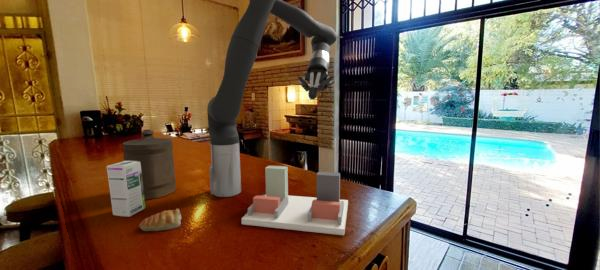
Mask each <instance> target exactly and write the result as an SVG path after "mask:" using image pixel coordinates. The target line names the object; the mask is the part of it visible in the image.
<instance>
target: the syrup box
mask: <svg viewBox="0 0 600 270" xmlns="http://www.w3.org/2000/svg"><path fill="white" fill-rule="evenodd" d="M106 172H107V173H106V174H107V179H108V186H109V195H110V201H111V209H112V210H111V211H112V215H113V216H117V217H118V216H119V217H127V218H128V217H129V218H130V217H132V216H133V215H136V214H137V213H139V212H141V211H143V210H145V209H146V207H147V206H146V201H145V198H144V189H143V181H142V172H141V163H140V161H124V160H123V161H120V162H116V163H113V164H109V165H107V166H106Z"/></svg>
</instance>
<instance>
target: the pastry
mask: <svg viewBox="0 0 600 270" xmlns="http://www.w3.org/2000/svg"><path fill="white" fill-rule="evenodd" d="M181 220H182V214H181V211H180V208H175V209H172V210H171V209H168V210H162V211H161V212H158V213H155V214H151V215H150V216H148V217H145V218H144V219H142V221H141V222H140V223H139V224H138V226H139V229H141V230H142V231H144V232H160V231H165V230H173V229H177V228H179V227H180V226H181V224H182V223H181Z"/></svg>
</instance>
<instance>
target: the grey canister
mask: <svg viewBox="0 0 600 270" xmlns="http://www.w3.org/2000/svg"><path fill="white" fill-rule="evenodd" d="M154 133H155V132H154V131H153V130H151V129H144V130H142V132H141V135H142V137H141V138H140V139H133V140H132V139H131V140H127V141H124V142H122V151H123V161H140V163H141V172H142V181H143V189H144V198H145V200H147V201H148V200H153V199H159V198H162V197H165V196H168V195H171V194H172V193H174V192H175V191H176V190H177V185H176V171H175V163H174V151H173V139H172V138H167V137H166V138H165V137H155V136H154Z"/></svg>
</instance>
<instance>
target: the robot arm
mask: <svg viewBox="0 0 600 270" xmlns="http://www.w3.org/2000/svg"><path fill="white" fill-rule="evenodd" d="M248 1H249V3H248V5H247V8H246V10H245V12H244V14H243V15H242V17H241V18H240V20H239V21H238V23H237V24H236V27H235V28H234V30H233V33H232V35H231V37H230V40H229V43H228V47H227V50H226V55H225V61H224V62H225V63H224V71H223V76H222V80H221V83H220V85H219V88H218V90H217V92H216V94H215V96H213V97H211V99H210V100H209V101H208V104H207V109H206V110H207V125H208V127H207V128H208V135H209V139H210V140H209V141H210V153H211V154H210V158H211V165H210V166H209V185H210V186H209V187H210V195H214V196H215V197H218V198H228V197H234V196H237V195H239V194H240V193H241V192H242V181H241V180H242V179H241V160H240V159H241V157H240V156H241V154H240V152H241V151H240V137H239V136H240V135H239V132H238V130H237V118H238V116H239V114H240V112H241V107H242V104H243V103H242V102H243V98H244V97H243V96H244V93H245V89H246V85H247V82H248V80H249V77H250V75H251V72H252V69H253V66H254V64H255V61H256V58H257V54H258V52H259V50H260V45H261V42H262V39H263V35H264V31H265V28H266V25H267V23H268V20H269V16H270V14H272V15H273V16H275V17H277V18H279V19H280V20H282V21H283V22H285V23H286V24H288V25H289V26H290V27H292V28H293V29H294V30H296V31H297V32H298V33H300V34H301V35H302V36H304V37H305V38H307V39H310V38H311V40H310V44H311V48H312V49H311V50H312V52H311V55H310V57H309V62H308V66H307V69H306V73H305V74H304V76H303V77H302V76H297V77H298V78H297V79H298V84H299V85H300V86H301V88H303V89H304V90H305V91H306V92H308V93H307V95H308V98H309V100H311V101H312V100H313V101H314V100H316V99H317V98H318V95H319V92H324V91H325V90H327V89H328V88H329V87H330V86H331V85H333V84H334V76H332V75H329V74H328V73H329V68H330V56H331V46H332V45H334V44H335V43H336V41H337V38H338V35H337V32H336V31H335V30H334V29H333V28H332V27H331V26H329V25H327V24H325V23H322V22H320V21H317V20H316V19H314V18H313V17H312V16H311V15H310V14H309V13H307V11H305V10H303V9H302V8H299V7H297V6H295V5H292V4H290V3H288V2H286V1H284V0H248Z"/></svg>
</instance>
